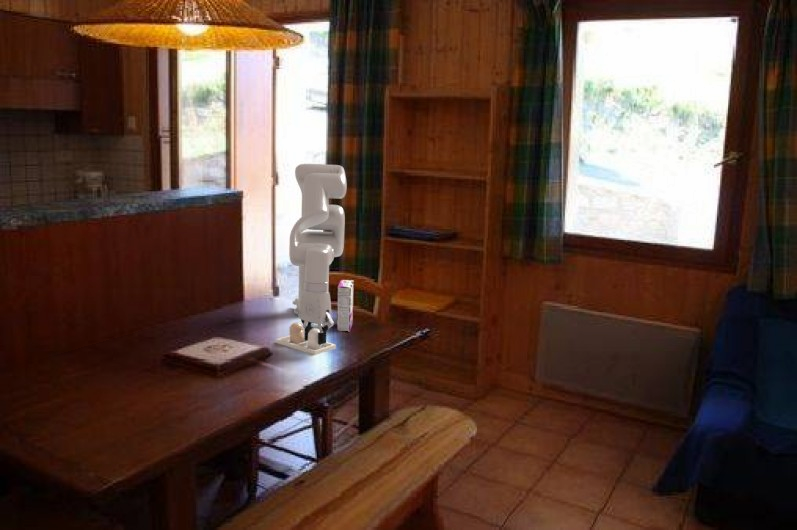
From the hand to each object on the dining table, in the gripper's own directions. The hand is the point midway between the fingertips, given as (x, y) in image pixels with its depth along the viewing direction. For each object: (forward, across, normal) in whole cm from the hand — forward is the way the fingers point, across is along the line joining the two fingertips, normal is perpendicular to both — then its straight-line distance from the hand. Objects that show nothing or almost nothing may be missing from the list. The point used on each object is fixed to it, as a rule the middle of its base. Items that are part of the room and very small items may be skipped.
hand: (315, 341), depth 231 cm
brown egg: (+3, -8, 0) cm, 9 cm away
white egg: (+3, 0, 0) cm, 3 cm away
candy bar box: (+3, -11, +26) cm, 29 cm away
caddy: (+3, -4, 0) cm, 5 cm away
